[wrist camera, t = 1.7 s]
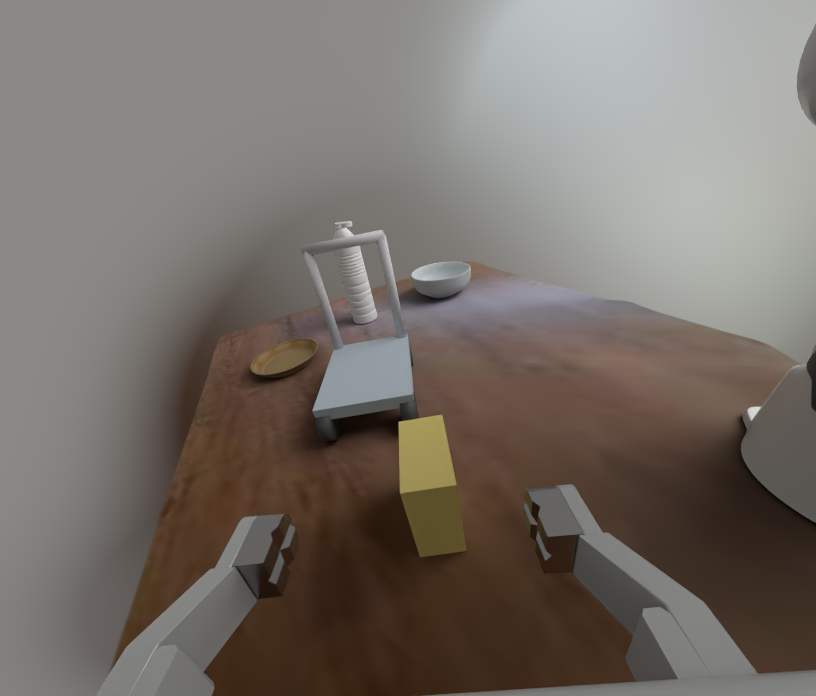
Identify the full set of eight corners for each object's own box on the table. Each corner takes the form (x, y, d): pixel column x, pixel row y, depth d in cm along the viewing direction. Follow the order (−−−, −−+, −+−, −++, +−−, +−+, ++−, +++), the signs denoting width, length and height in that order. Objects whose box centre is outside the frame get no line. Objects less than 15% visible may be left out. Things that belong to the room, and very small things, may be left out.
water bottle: (350, 320, 82) (321, 225, 70) (371, 312, 85) (346, 218, 73) (363, 329, 76) (334, 225, 63) (385, 320, 78) (361, 218, 66)
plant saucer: (328, 365, 64) (324, 355, 62) (256, 394, 59) (250, 383, 58) (314, 340, 76) (311, 331, 74) (254, 363, 71) (249, 353, 70)
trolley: (412, 356, 60) (385, 227, 48) (420, 434, 42) (381, 257, 30) (344, 368, 61) (302, 244, 49) (323, 449, 43) (246, 283, 30)
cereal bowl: (441, 309, 78) (437, 283, 74) (403, 298, 90) (399, 275, 87) (484, 287, 85) (483, 263, 82) (444, 280, 98) (441, 258, 94)
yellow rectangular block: (452, 477, 35) (442, 414, 30) (466, 550, 28) (456, 484, 23) (414, 483, 35) (398, 421, 30) (419, 557, 28) (400, 493, 24)
